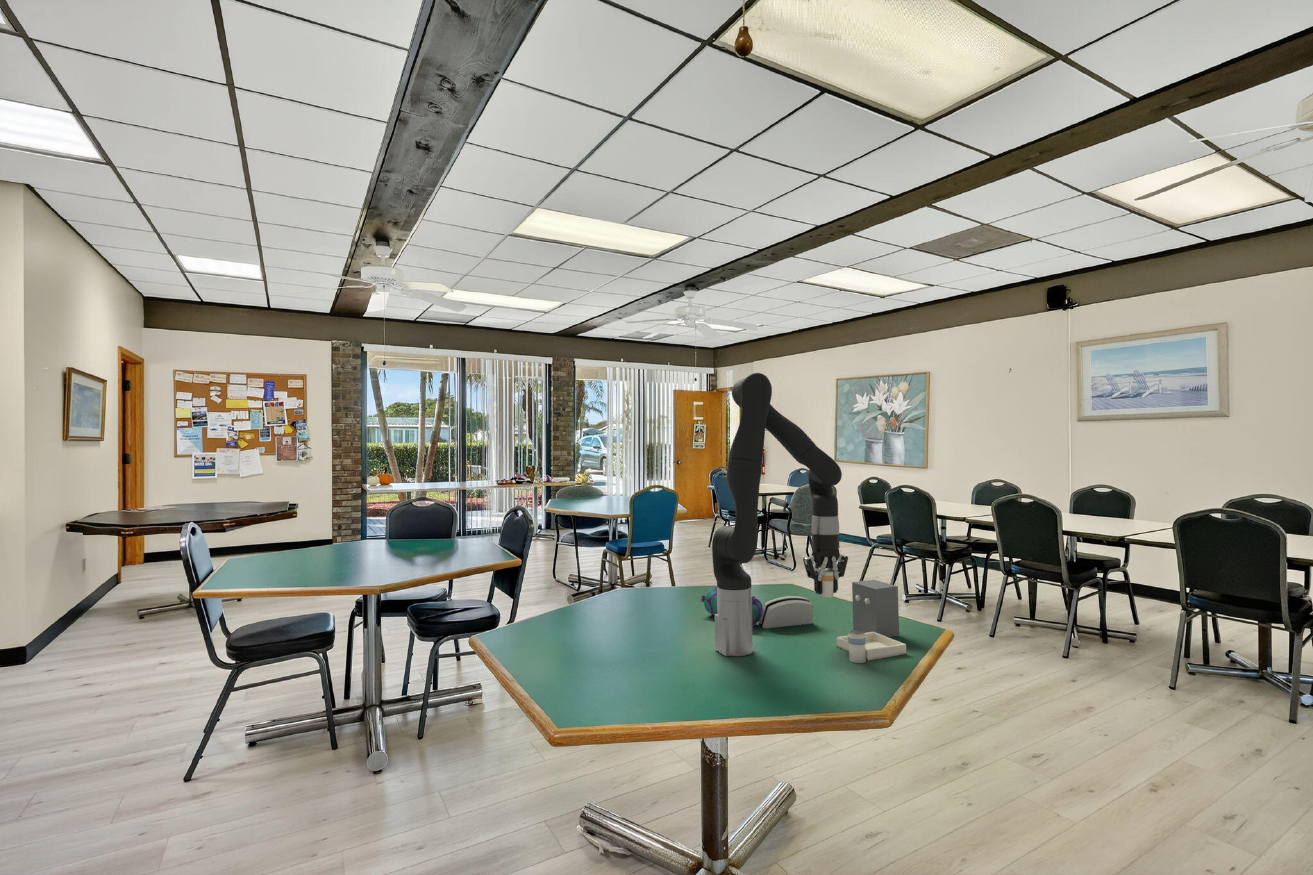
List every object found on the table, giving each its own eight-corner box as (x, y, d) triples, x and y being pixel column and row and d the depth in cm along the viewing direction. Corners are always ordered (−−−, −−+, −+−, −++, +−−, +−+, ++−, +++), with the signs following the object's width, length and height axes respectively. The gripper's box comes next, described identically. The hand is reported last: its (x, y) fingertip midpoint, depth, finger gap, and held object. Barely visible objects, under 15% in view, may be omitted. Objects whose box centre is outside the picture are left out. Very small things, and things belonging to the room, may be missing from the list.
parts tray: (867, 660, 155) (867, 650, 155) (836, 646, 167) (836, 637, 167) (906, 654, 159) (906, 644, 160) (873, 640, 171) (873, 631, 171)
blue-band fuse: (855, 664, 153) (854, 635, 153) (845, 658, 157) (844, 631, 157) (870, 661, 154) (869, 633, 154) (859, 656, 158) (858, 629, 158)
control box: (874, 639, 172) (873, 589, 172) (851, 629, 182) (850, 582, 182) (900, 635, 175) (899, 586, 176) (876, 626, 185) (874, 579, 185)
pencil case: (700, 615, 200) (700, 586, 201) (721, 611, 205) (720, 582, 206) (744, 630, 183) (743, 598, 183) (765, 625, 188) (765, 593, 188)
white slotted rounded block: (805, 619, 194) (810, 591, 191) (812, 628, 190) (817, 600, 187) (756, 624, 190) (760, 595, 187) (763, 633, 185) (767, 604, 182)
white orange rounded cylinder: (824, 598, 170) (824, 572, 170) (815, 594, 174) (814, 569, 174) (837, 596, 171) (837, 571, 171) (827, 593, 175) (827, 569, 175)
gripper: (838, 529, 179) (838, 588, 178) (796, 531, 174) (796, 592, 173) (854, 532, 172) (855, 593, 171) (811, 534, 167) (812, 597, 166)
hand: (826, 592), depth 172 cm, fingers closed on white orange rounded cylinder, 4 cm apart
